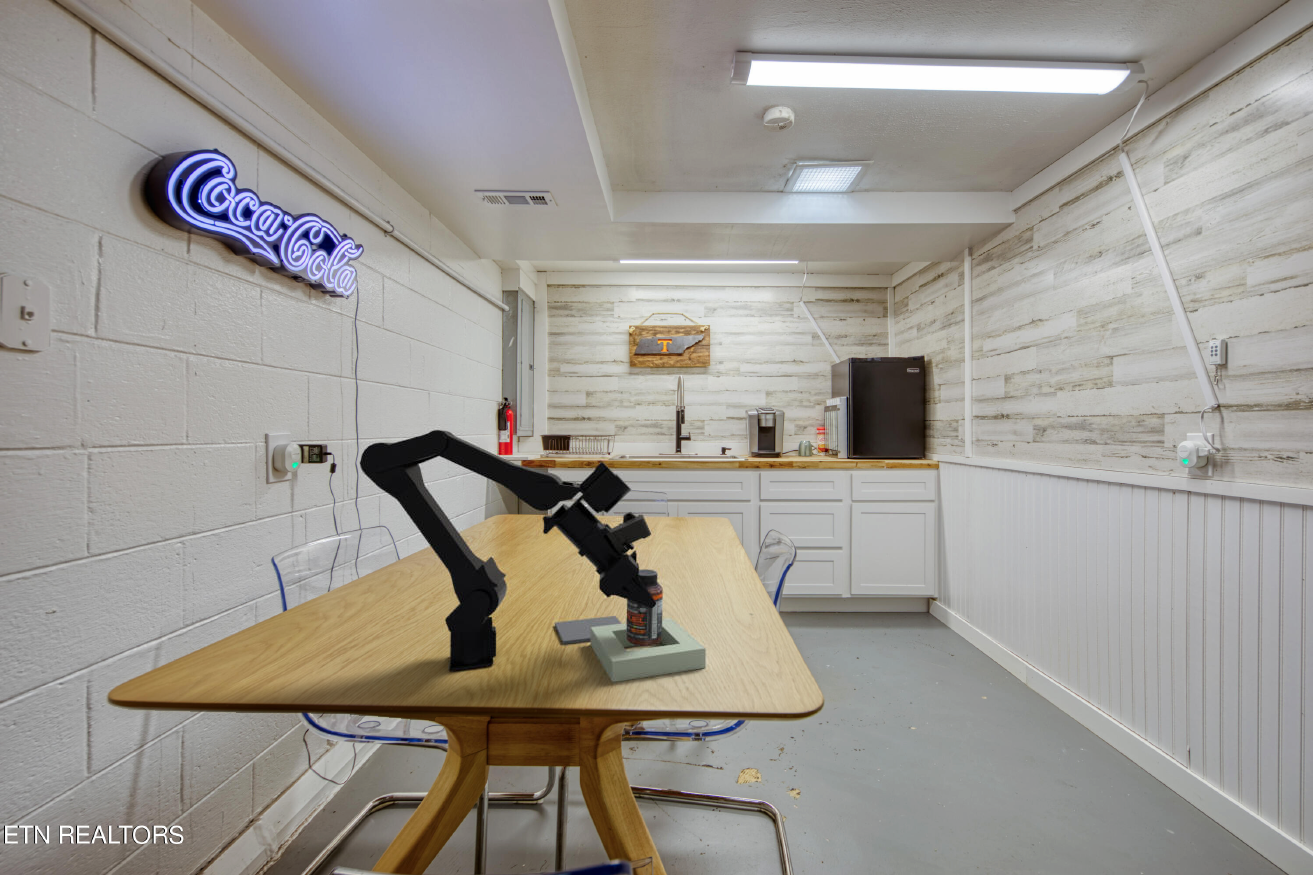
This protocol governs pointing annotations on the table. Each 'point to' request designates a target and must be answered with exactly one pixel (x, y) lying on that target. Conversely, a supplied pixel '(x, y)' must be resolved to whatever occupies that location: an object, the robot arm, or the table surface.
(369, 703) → the table surface
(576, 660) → the table surface
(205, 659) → the table surface
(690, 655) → the square frame
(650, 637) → the supplement bottle
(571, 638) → the mat
